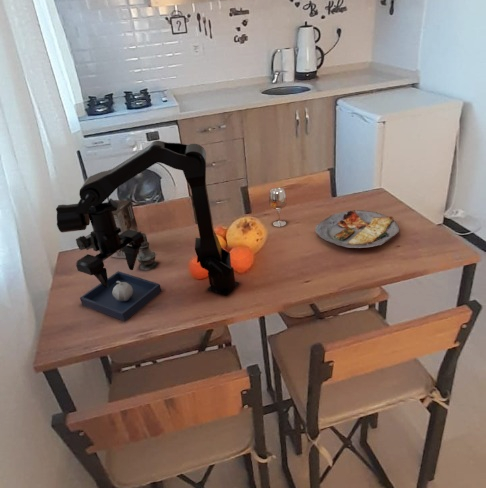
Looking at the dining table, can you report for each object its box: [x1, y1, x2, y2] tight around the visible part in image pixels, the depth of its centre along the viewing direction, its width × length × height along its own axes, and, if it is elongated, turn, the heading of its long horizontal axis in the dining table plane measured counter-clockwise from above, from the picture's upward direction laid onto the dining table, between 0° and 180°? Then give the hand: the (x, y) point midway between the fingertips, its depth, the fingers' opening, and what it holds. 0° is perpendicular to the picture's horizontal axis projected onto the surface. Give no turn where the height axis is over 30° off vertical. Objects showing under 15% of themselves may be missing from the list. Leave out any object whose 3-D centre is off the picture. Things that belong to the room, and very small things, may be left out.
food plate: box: [314, 209, 400, 249], centre depth 145 cm, size 25×23×4 cm
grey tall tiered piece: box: [136, 230, 158, 271], centre depth 139 cm, size 6×6×12 cm
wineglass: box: [268, 187, 288, 228], centre depth 154 cm, size 6×6×12 cm
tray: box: [79, 270, 163, 322], centre depth 128 cm, size 16×14×2 cm
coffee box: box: [111, 199, 140, 259], centre depth 148 cm, size 9×6×16 cm
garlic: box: [112, 281, 133, 301], centre depth 127 cm, size 6×5×5 cm
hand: (119, 278), depth 125 cm, fingers open, 9 cm apart
